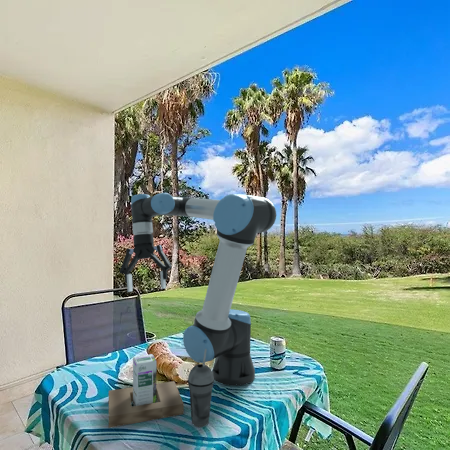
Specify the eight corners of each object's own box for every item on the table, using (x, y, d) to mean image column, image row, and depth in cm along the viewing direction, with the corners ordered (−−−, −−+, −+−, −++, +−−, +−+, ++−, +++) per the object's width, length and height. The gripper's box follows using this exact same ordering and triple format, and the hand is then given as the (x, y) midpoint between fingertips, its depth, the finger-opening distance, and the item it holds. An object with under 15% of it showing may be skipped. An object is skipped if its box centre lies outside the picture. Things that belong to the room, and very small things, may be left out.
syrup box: (136, 415, 94) (136, 363, 93) (132, 404, 99) (132, 355, 99) (156, 410, 96) (157, 360, 96) (151, 400, 101) (152, 352, 101)
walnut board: (174, 390, 107) (174, 381, 107) (183, 414, 94) (183, 403, 94) (108, 400, 101) (108, 390, 101) (108, 427, 88) (108, 416, 88)
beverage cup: (187, 414, 94) (188, 344, 94) (213, 413, 95) (214, 343, 94) (186, 431, 87) (187, 354, 87) (214, 429, 87) (215, 354, 87)
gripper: (177, 231, 130) (181, 286, 127) (118, 238, 135) (121, 291, 132) (170, 229, 123) (174, 287, 120) (108, 237, 127) (111, 293, 125)
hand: (146, 290), depth 126 cm, fingers open, 13 cm apart
